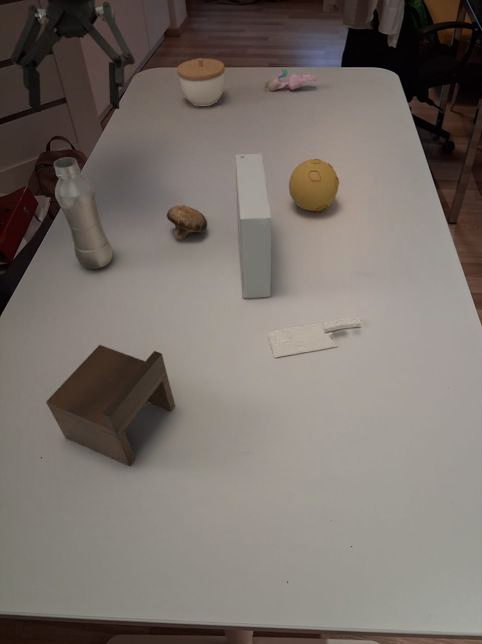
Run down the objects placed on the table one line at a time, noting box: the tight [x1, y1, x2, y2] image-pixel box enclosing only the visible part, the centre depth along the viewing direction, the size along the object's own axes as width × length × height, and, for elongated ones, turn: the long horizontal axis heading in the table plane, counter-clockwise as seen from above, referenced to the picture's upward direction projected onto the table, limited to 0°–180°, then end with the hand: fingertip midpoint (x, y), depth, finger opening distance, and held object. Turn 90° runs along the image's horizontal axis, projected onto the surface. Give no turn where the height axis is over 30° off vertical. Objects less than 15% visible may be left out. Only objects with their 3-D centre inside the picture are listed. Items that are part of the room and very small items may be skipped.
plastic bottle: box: [53, 156, 113, 270], centre depth 93 cm, size 6×7×20 cm
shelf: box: [45, 344, 176, 467], centre depth 71 cm, size 11×11×11 cm
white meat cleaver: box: [266, 316, 362, 359], centre depth 84 cm, size 5×15×1 cm, turn 101°
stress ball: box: [288, 158, 340, 213], centre depth 107 cm, size 10×10×10 cm
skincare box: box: [234, 153, 272, 299], centre depth 93 cm, size 21×5×16 cm, turn 4°
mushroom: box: [166, 204, 208, 241], centre depth 104 cm, size 8×8×6 cm
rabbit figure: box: [263, 68, 318, 92], centre depth 151 cm, size 6×6×15 cm
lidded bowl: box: [176, 57, 226, 105], centre depth 145 cm, size 13×13×11 cm
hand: (74, 107), depth 90 cm, fingers open, 13 cm apart
